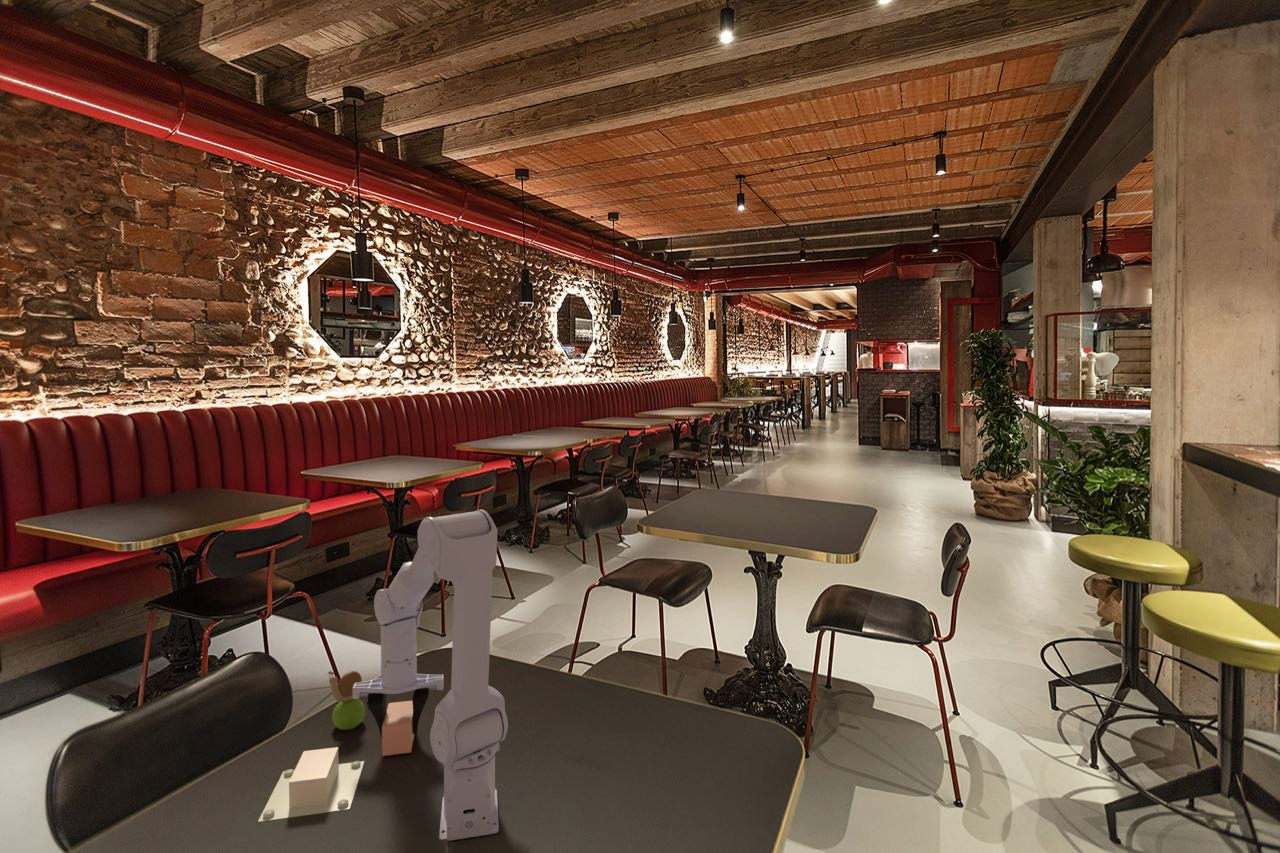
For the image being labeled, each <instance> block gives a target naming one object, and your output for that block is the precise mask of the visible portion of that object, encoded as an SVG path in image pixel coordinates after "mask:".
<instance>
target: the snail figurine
mask: <svg viewBox="0 0 1280 853" xmlns="http://www.w3.org/2000/svg"><path fill="white" fill-rule="evenodd" d="M328 675H330V677H329V680H328V681H329V685H330V689H331V693H332V696H333V698H334V700H335V701H336V702H338V703H337V704H336V705H335V706H334V708H333V711H332V714H331V720H332V722H333V723H332V724H333V725H334V726H335V727H336V728H337V729H338V730H341V731H349V730H353V729H355V728H357V727H358V726H360V724H361V723H362V722H363V720H364V718H365V715H366V707H365V705H364V703H363V701H362V700H360V698H358V699H353V686H354V684H355V683H358V682H363V681H362V680H363V679H362V675H361V674H360V673H359V672H358V671H354V670H351V671H348V672H346V673H345V674H344V675H343V676H342V677H341V678H340V679H338V677H337V676H333V675H335V671H332V670H329V671H328Z"/></svg>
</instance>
